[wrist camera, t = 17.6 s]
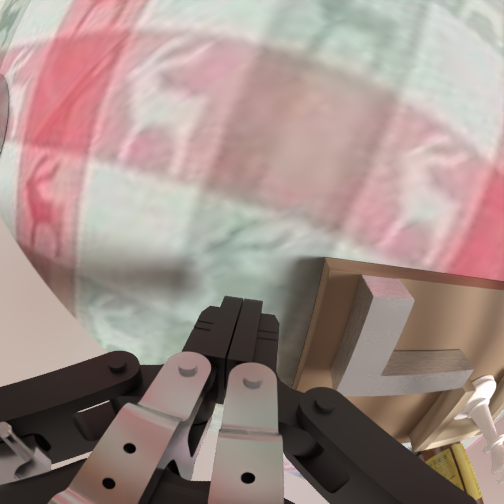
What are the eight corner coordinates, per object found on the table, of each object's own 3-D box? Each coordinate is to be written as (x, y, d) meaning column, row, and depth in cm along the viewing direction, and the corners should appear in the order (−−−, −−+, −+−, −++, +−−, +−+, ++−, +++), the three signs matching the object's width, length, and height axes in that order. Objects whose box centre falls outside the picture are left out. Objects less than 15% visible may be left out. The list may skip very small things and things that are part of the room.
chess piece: (502, 371, 14) (547, 453, 4) (474, 409, 15) (505, 488, 6) (468, 378, 14) (515, 478, 5) (438, 418, 16) (467, 510, 6)
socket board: (276, 433, 19) (274, 467, 16) (325, 257, 13) (337, 291, 10) (481, 413, 18) (491, 435, 14) (555, 289, 12) (576, 307, 9)
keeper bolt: (329, 369, 14) (333, 396, 12) (361, 274, 12) (373, 296, 10) (450, 367, 13) (461, 387, 12) (490, 289, 11) (507, 306, 9)
